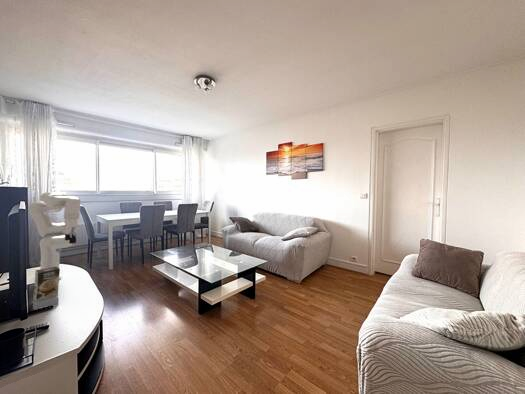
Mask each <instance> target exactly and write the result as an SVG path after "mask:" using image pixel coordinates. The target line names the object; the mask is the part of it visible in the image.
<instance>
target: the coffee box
mask: <svg viewBox="0 0 525 394" xmlns="http://www.w3.org/2000/svg"><path fill="white" fill-rule="evenodd" d="M60 272H61V270H60V267H59V268H58V267H51V268H45V269H35V273H34V274H35V275H34V285H33V287H34V288H33V295H34V296H33V298H34V299H35V300H36V301H39V300H42V299H46V298H50V297H53V296H57V295H58V296H59V285H60V284H59V283H60V280H59V275H60Z"/></svg>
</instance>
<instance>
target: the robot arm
mask: <svg viewBox="0 0 525 394" xmlns="http://www.w3.org/2000/svg"><path fill="white" fill-rule="evenodd" d="M39 199H40V200H39V201H34V202H31V203H29V206H28V212H29V215H30V217H31V218H32V219H33V220H34V222H35V224H36V229H37V231H38V234H39V236H40V237H42V239H40V240H39V249H40V269H45V268H51V267H58V268H59V269H60V260H61V258H60V257H61V256H60V252H58V251H57V250H59V249H65V248H69V247H72V246H73V244H76V243H77V233H78V226H79V225H78V224H79V222H78V220H79V219H80V212H81V198H79V197H76V196H72V195H71V196H70V195H68V193H66V192H63V191H62V192H60V191H58V192H57V191H55V192H54V191H47V192H43V193H42V194H41V195H40V198H39ZM62 210H64V211H63V219H64V222H58V223H57V222H54V221H53V219H52V217H50V216H49V215H48V214H47V213H58V212H61V211H62ZM40 269H39V270H40ZM61 279H62V275H61V274H59V281H60V280H61Z"/></svg>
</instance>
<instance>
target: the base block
mask: <svg viewBox="0 0 525 394" xmlns="http://www.w3.org/2000/svg"><path fill="white" fill-rule="evenodd" d="M33 296H34V294H33ZM32 300H33V301H32V310H33V309H36V308H40V307H45V306H50V305H52V306H53V307H57V306H59V300H60V299H59V294H58V295H57V296H53V297H50V298H46V299H42V300H39V301H36V300H35V299H34V298H33V299H32Z"/></svg>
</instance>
